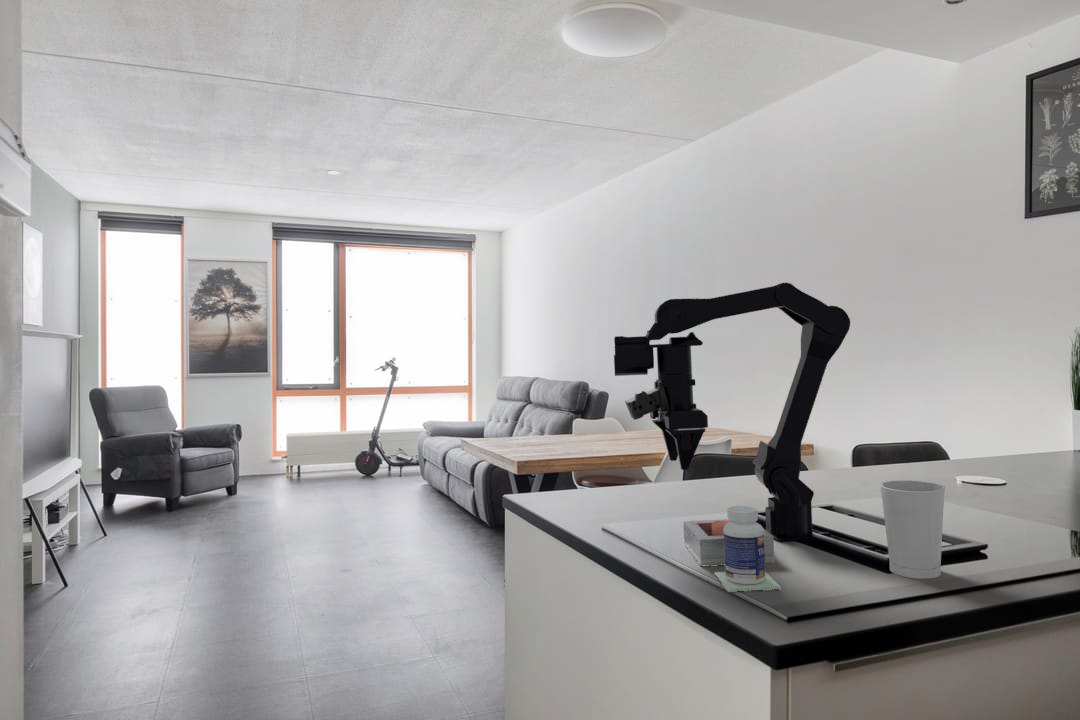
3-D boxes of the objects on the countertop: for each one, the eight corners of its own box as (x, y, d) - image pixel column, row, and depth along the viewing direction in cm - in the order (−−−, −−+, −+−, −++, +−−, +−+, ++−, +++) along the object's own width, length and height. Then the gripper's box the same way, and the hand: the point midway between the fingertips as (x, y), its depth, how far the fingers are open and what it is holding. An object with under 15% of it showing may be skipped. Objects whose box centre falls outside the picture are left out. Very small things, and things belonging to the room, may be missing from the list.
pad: (763, 572, 100) (763, 569, 100) (780, 589, 93) (780, 586, 93) (714, 575, 100) (714, 572, 100) (728, 592, 93) (728, 589, 93)
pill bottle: (768, 586, 94) (765, 513, 93) (726, 585, 95) (723, 513, 95) (763, 572, 99) (760, 504, 99) (724, 572, 100) (721, 504, 100)
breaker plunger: (736, 540, 112) (735, 519, 112) (745, 548, 108) (744, 526, 108) (709, 541, 112) (708, 521, 112) (716, 549, 108) (715, 528, 107)
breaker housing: (751, 542, 115) (750, 518, 115) (774, 562, 104) (773, 536, 104) (684, 545, 115) (683, 521, 115) (700, 566, 104) (699, 539, 104)
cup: (871, 564, 102) (868, 482, 101) (923, 560, 102) (921, 478, 102) (904, 582, 94) (901, 493, 94) (961, 578, 94) (958, 489, 94)
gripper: (620, 373, 128) (624, 458, 129) (635, 378, 110) (640, 477, 110) (681, 370, 128) (684, 455, 129) (706, 375, 110) (710, 474, 110)
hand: (678, 465), depth 119 cm, fingers open, 9 cm apart
